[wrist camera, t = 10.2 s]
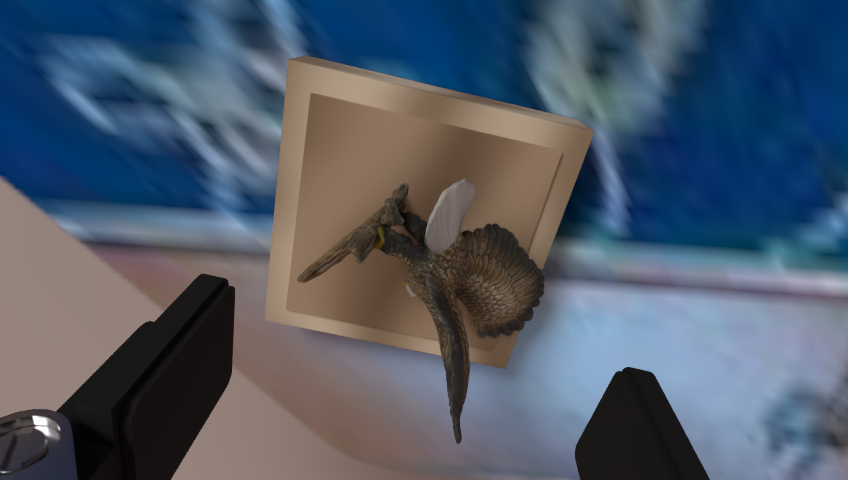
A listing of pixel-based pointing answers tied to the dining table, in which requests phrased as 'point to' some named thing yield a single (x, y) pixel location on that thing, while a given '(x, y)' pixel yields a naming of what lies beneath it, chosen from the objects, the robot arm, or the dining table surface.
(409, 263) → the brown bird figurine
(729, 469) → the dining table surface
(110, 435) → the robot arm
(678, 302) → the dining table surface
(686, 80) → the dining table surface
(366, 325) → the tan wooden tray
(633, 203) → the dining table surface
